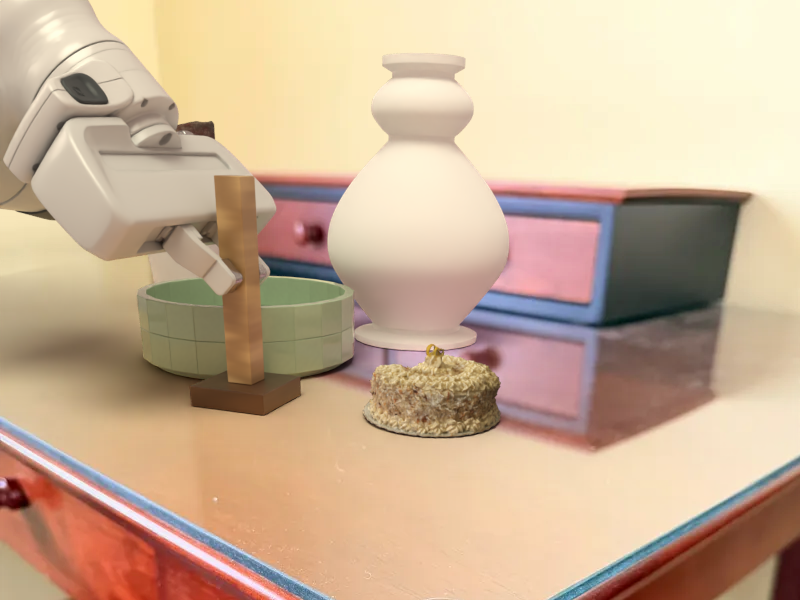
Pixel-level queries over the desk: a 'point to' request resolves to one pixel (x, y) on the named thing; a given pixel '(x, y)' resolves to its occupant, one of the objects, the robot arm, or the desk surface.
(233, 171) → the robot arm
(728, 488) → the desk surface
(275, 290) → the bowl
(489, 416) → the cake
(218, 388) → the wooden post stand
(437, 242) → the decorative vase
